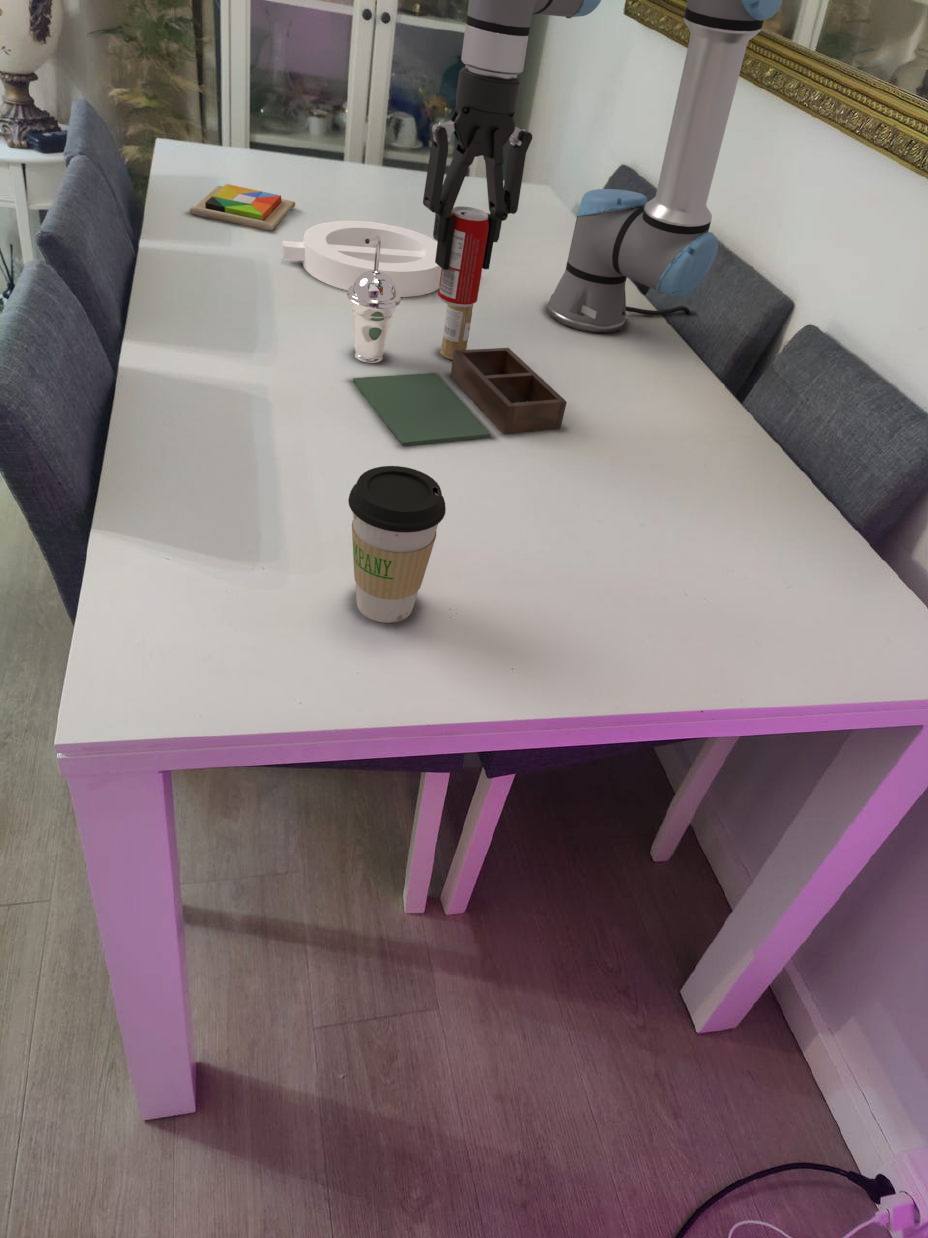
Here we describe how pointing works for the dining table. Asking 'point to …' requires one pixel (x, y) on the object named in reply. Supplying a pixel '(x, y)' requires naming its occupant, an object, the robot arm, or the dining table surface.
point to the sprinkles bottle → (456, 330)
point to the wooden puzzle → (243, 206)
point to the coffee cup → (392, 538)
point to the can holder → (507, 390)
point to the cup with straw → (372, 309)
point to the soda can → (465, 257)
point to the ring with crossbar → (367, 255)
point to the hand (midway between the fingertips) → (462, 265)
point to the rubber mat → (420, 409)
